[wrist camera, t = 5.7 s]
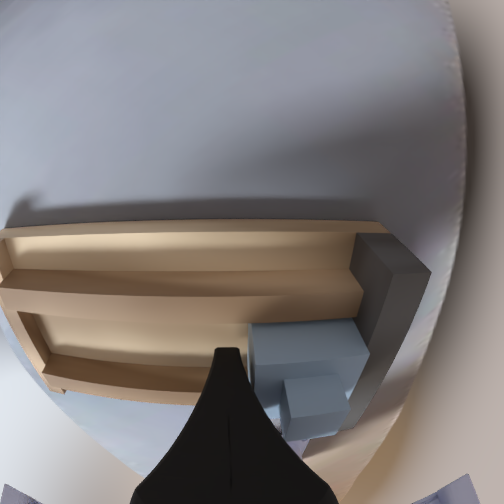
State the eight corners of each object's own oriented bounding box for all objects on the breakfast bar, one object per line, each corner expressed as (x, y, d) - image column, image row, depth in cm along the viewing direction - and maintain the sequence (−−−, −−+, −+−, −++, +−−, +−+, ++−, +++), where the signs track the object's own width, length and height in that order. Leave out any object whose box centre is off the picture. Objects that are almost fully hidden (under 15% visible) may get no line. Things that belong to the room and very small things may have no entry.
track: (334, 372, 16) (353, 428, 13) (60, 366, 15) (40, 414, 11) (377, 221, 12) (431, 272, 8) (3, 228, 10) (-47, 271, 6)
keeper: (325, 358, 14) (352, 439, 9) (247, 364, 13) (255, 452, 9) (342, 299, 12) (386, 388, 8) (248, 303, 11) (260, 406, 7)
